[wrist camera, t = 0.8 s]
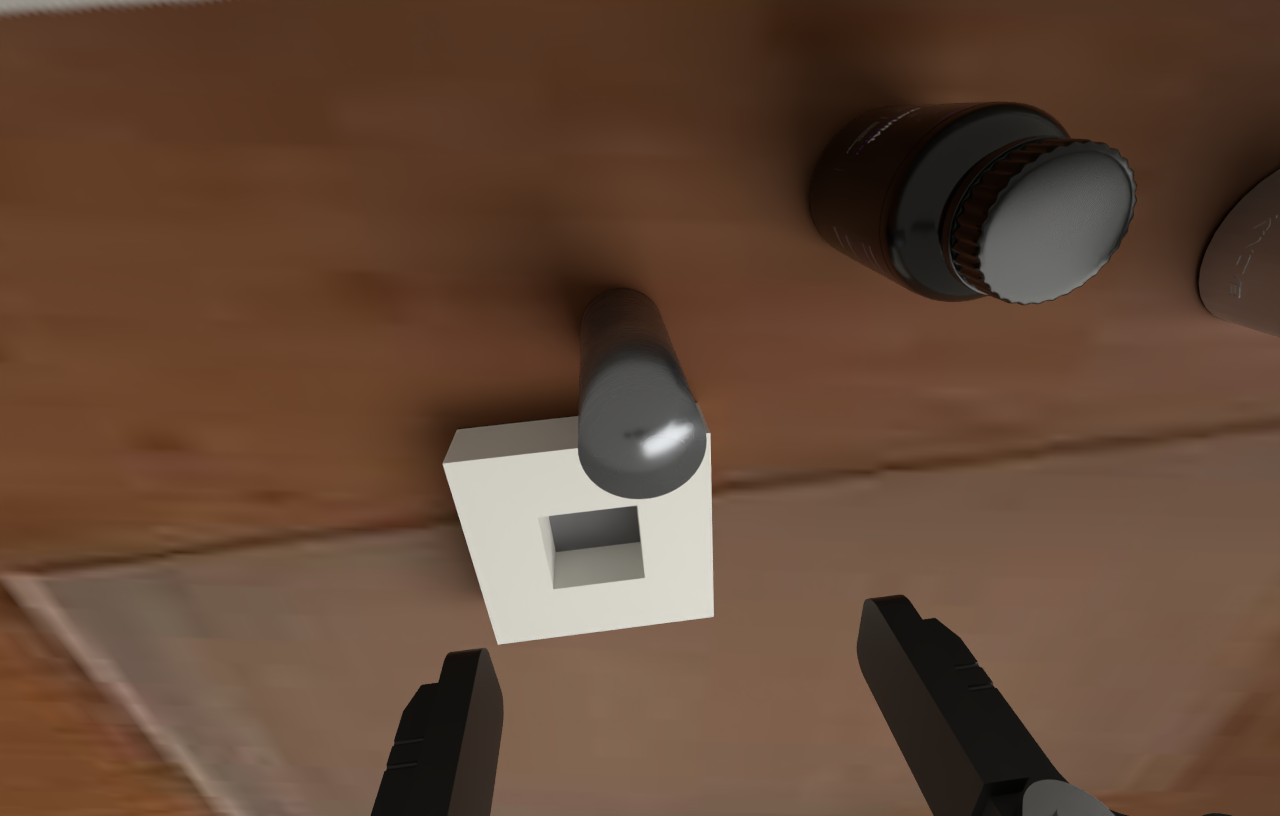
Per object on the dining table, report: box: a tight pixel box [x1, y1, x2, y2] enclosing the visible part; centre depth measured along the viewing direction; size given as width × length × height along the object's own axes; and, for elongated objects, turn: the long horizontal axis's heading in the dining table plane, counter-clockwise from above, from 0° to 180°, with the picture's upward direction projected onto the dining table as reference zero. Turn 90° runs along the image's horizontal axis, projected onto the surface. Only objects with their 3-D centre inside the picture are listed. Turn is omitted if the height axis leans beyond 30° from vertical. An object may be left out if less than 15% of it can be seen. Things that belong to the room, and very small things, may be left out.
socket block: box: [443, 403, 714, 644], centre depth 33 cm, size 14×14×4 cm
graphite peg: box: [578, 288, 707, 499], centre depth 23 cm, size 4×4×12 cm
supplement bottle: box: [810, 102, 1137, 305], centre depth 21 cm, size 7×7×12 cm
